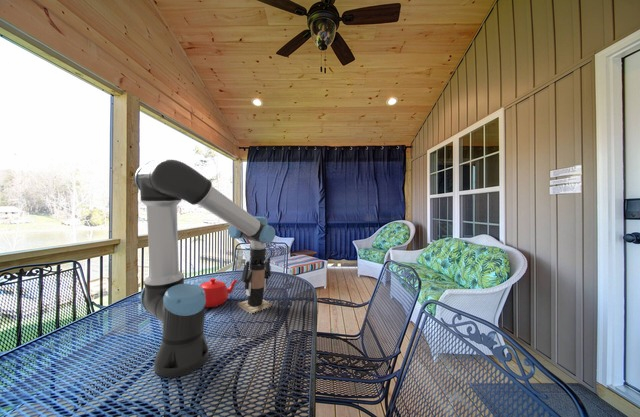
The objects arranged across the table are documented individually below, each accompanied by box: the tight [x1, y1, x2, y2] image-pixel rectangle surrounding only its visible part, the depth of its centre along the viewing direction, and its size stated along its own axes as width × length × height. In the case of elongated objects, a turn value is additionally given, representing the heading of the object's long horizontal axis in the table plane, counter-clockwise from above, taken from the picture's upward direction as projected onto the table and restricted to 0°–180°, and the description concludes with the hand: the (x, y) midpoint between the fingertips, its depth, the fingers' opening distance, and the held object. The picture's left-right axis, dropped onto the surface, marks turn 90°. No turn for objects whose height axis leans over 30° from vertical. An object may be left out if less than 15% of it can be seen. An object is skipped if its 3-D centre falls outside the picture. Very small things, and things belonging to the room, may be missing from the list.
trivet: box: [237, 299, 273, 315], centre depth 118 cm, size 12×12×2 cm
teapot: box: [199, 277, 239, 309], centre depth 119 cm, size 25×16×12 cm, turn 133°
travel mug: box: [247, 262, 266, 306], centre depth 117 cm, size 8×8×20 cm
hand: (255, 292), depth 117 cm, fingers open, 8 cm apart
